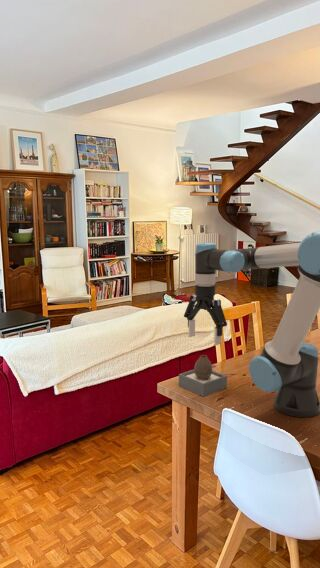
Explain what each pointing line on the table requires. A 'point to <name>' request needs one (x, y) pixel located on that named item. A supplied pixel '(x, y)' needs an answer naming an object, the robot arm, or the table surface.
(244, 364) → the table surface
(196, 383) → the gray square tray
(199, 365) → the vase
